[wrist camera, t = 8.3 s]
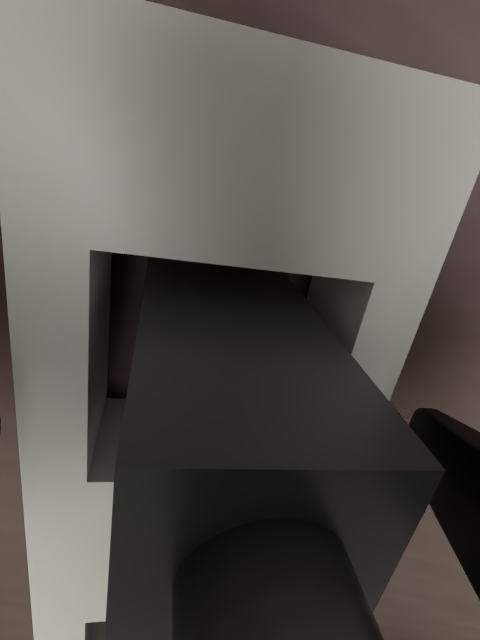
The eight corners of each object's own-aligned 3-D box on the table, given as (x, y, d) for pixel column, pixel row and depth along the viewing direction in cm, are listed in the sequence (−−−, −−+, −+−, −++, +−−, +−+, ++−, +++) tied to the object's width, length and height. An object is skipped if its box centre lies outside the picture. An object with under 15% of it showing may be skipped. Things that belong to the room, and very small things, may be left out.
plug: (257, 379, 14) (422, 842, 5) (139, 372, 13) (71, 923, 4) (282, 270, 12) (601, 661, 3) (149, 254, 11) (73, 730, 2)
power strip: (244, 648, 21) (261, 769, 17) (64, 666, 19) (36, 808, 15) (409, 104, 11) (556, 87, 7) (48, 21, 9) (-58, -76, 5)
